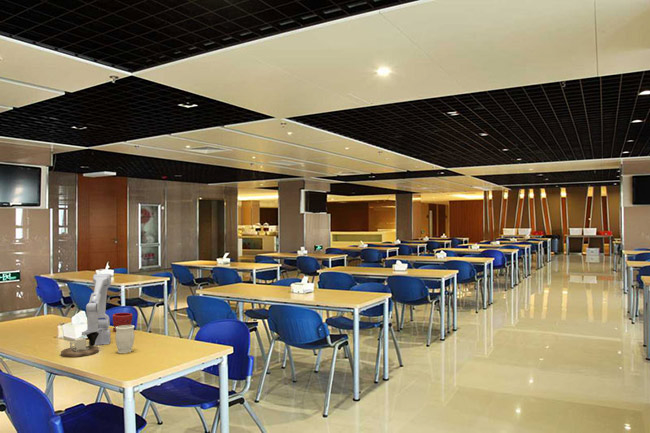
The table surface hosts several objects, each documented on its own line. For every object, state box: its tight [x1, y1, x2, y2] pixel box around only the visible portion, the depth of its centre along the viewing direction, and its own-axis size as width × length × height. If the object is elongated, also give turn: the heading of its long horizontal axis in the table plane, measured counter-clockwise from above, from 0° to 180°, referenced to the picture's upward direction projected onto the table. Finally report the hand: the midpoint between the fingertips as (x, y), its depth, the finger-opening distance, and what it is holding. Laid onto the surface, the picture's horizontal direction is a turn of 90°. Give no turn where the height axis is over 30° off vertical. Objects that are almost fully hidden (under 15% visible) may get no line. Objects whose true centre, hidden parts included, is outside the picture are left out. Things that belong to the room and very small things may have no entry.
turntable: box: [60, 341, 100, 358], centre depth 286 cm, size 20×20×4 cm
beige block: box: [69, 337, 87, 350], centre depth 285 cm, size 8×5×6 cm, turn 130°
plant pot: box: [112, 312, 133, 332], centre depth 348 cm, size 13×13×12 cm
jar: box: [114, 324, 135, 354], centre depth 289 cm, size 11×10×15 cm
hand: (92, 345), depth 292 cm, fingers closed, pressing on turntable
